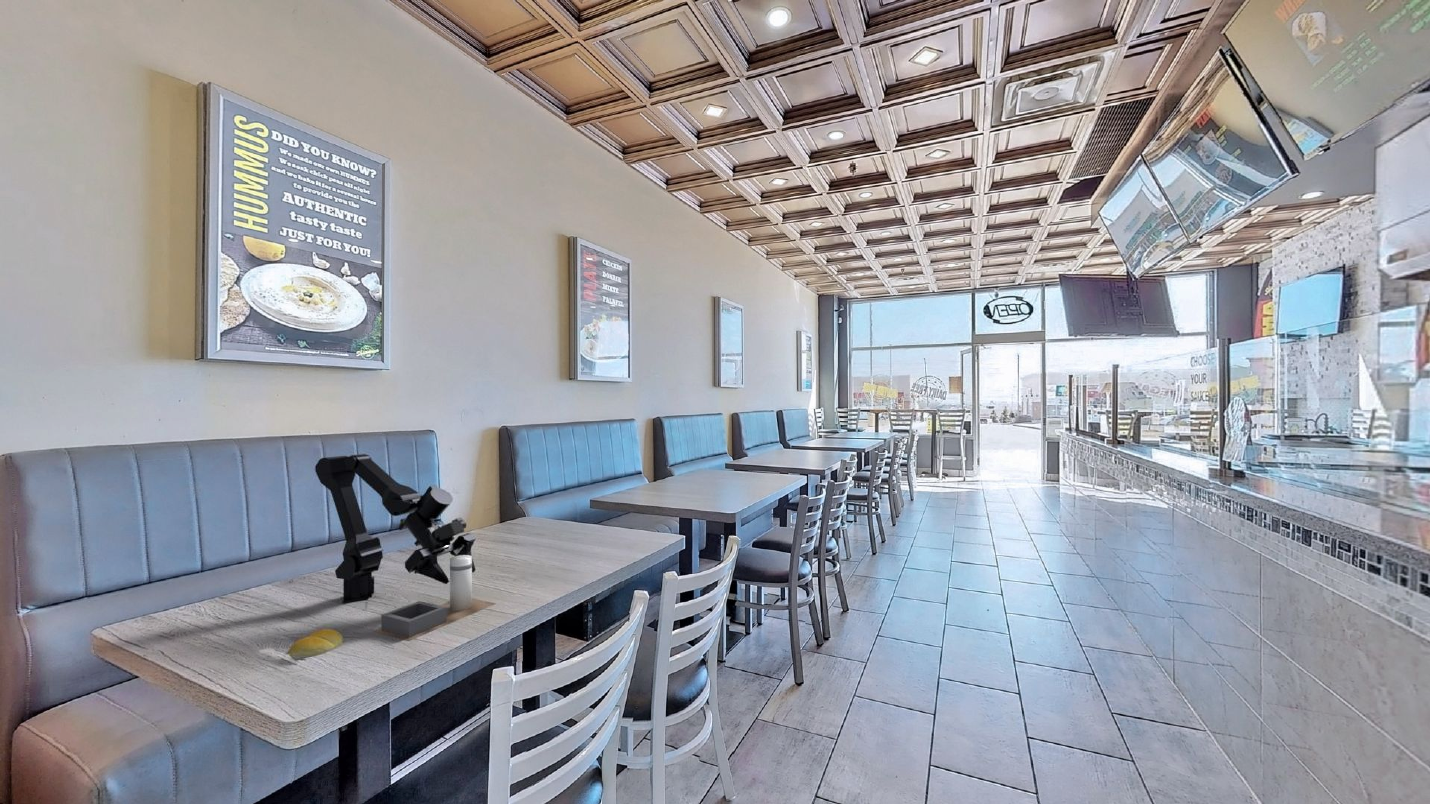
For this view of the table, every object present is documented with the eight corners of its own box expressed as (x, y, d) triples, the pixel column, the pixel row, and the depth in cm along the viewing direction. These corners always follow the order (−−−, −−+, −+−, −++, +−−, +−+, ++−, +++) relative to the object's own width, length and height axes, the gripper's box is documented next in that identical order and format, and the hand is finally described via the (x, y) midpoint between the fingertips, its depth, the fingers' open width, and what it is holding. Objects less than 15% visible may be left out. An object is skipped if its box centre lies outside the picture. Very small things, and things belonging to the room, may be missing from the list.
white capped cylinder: (450, 612, 131) (450, 562, 131) (448, 606, 135) (448, 556, 135) (473, 608, 134) (473, 558, 134) (470, 602, 138) (470, 553, 138)
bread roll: (279, 661, 108) (279, 641, 108) (319, 641, 117) (319, 623, 117) (313, 664, 107) (313, 644, 107) (351, 644, 116) (351, 626, 116)
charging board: (408, 644, 115) (408, 640, 115) (373, 634, 120) (373, 631, 120) (496, 606, 137) (496, 603, 137) (462, 599, 142) (462, 596, 142)
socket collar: (409, 638, 117) (409, 622, 117) (381, 630, 121) (381, 614, 121) (446, 622, 125) (446, 607, 125) (419, 615, 129) (419, 601, 129)
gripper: (414, 517, 127) (452, 566, 124) (469, 503, 145) (504, 546, 142) (387, 547, 129) (425, 597, 126) (446, 530, 147) (479, 573, 144)
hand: (461, 577), depth 134 cm, fingers open, 9 cm apart
